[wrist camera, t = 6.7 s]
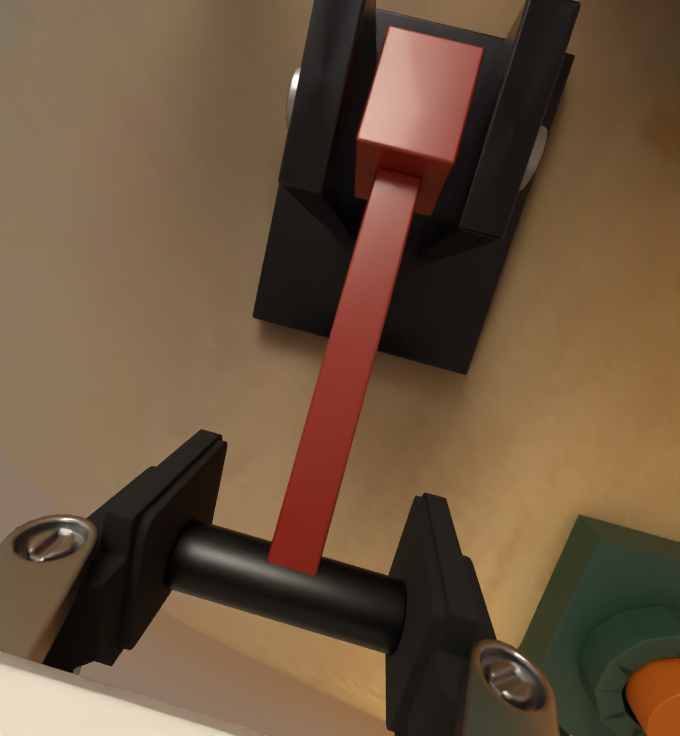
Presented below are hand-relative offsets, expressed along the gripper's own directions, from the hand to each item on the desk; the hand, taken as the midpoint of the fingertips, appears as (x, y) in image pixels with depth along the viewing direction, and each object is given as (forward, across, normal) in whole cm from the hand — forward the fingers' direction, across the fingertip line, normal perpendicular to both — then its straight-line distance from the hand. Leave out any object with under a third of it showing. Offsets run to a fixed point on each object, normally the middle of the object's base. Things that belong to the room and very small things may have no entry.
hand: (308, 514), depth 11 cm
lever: (+1, 0, -5) cm, 5 cm away
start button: (+8, -19, +9) cm, 23 cm away
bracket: (+12, 0, -10) cm, 15 cm away
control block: (+12, -19, +9) cm, 24 cm away
